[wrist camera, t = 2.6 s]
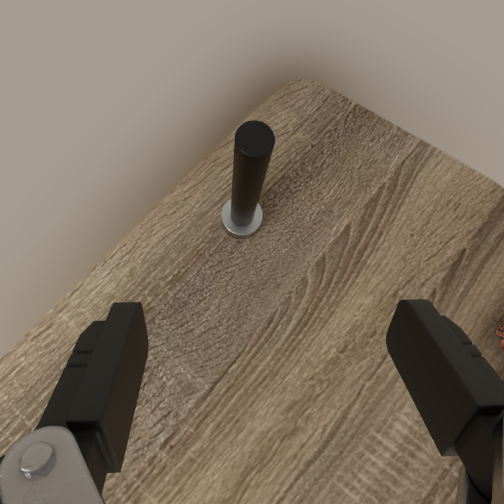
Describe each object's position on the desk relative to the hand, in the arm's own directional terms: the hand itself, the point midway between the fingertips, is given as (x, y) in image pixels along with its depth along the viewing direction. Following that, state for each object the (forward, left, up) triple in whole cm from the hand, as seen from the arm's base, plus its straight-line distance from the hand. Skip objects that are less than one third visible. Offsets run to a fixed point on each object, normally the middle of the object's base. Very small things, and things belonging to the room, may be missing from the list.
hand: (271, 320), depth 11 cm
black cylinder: (-4, +8, -18) cm, 20 cm away
